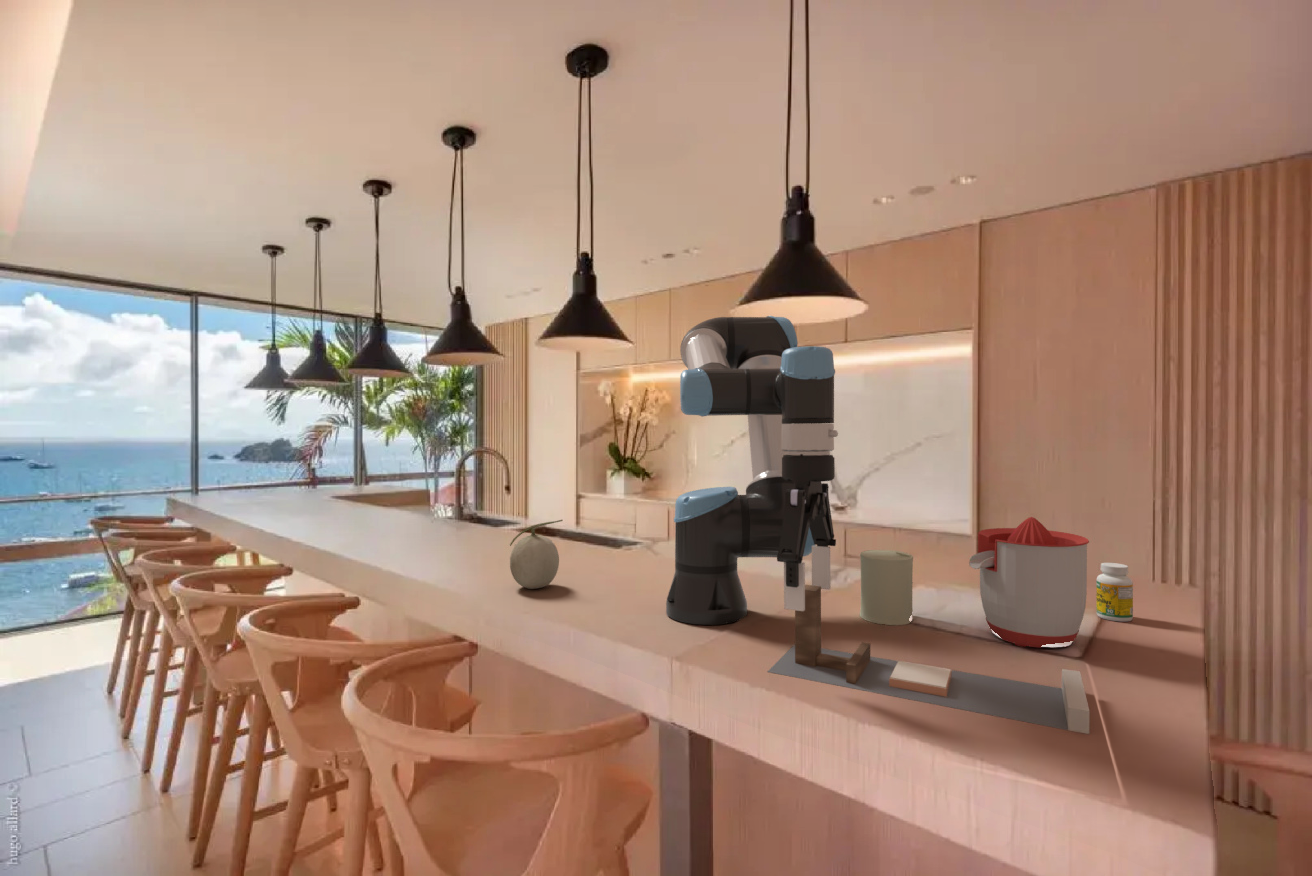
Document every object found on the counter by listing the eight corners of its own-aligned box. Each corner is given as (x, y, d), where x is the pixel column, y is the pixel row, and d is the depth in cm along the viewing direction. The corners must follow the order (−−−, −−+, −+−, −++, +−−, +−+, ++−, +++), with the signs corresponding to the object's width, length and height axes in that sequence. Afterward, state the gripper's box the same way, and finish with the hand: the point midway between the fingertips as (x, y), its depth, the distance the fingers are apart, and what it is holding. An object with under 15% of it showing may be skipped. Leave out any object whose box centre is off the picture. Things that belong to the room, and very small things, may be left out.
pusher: (787, 671, 91) (787, 594, 91) (807, 649, 100) (807, 578, 100) (855, 684, 87) (855, 603, 86) (870, 659, 95) (870, 586, 95)
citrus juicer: (951, 623, 113) (951, 510, 113) (1051, 623, 113) (1052, 510, 112) (995, 655, 98) (996, 524, 97) (1111, 655, 97) (1113, 524, 97)
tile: (889, 686, 86) (889, 677, 86) (897, 668, 92) (897, 660, 92) (946, 696, 82) (946, 687, 82) (951, 677, 89) (951, 668, 88)
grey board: (767, 674, 91) (767, 653, 91) (795, 646, 102) (795, 627, 102) (1089, 737, 72) (1089, 710, 72) (1079, 694, 84) (1080, 671, 84)
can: (918, 626, 112) (918, 558, 111) (862, 623, 114) (862, 556, 113) (908, 611, 121) (908, 547, 120) (857, 609, 123) (857, 546, 122)
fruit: (497, 588, 140) (496, 519, 140) (543, 579, 148) (542, 514, 147) (522, 597, 132) (521, 525, 132) (569, 587, 140) (568, 519, 140)
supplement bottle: (1140, 622, 113) (1141, 568, 113) (1110, 622, 113) (1111, 568, 113) (1117, 613, 119) (1117, 561, 118) (1089, 613, 118) (1089, 561, 118)
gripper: (808, 456, 81) (809, 624, 81) (853, 451, 103) (853, 583, 103) (752, 456, 85) (753, 616, 85) (807, 450, 107) (807, 578, 107)
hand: (808, 598), depth 94 cm, fingers open, 13 cm apart
